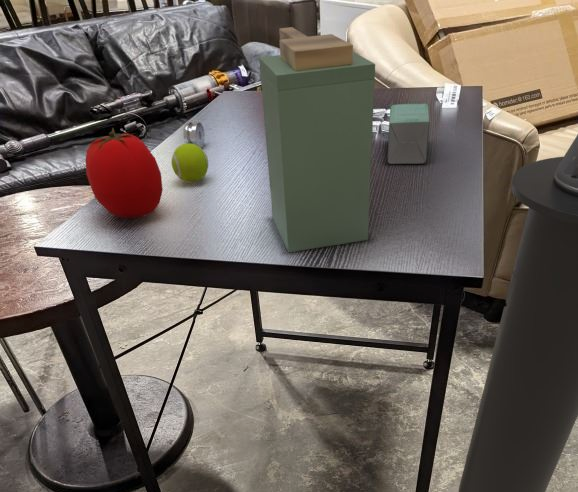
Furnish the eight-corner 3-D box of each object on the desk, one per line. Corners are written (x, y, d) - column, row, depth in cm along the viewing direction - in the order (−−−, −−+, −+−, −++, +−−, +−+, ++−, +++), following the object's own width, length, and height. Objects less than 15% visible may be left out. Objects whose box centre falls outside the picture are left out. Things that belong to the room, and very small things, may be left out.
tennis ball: (171, 179, 101) (163, 143, 96) (204, 172, 103) (198, 136, 98) (181, 190, 96) (174, 152, 92) (216, 182, 98) (210, 145, 94)
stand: (368, 240, 77) (375, 63, 62) (288, 252, 76) (276, 75, 61) (344, 208, 86) (345, 47, 71) (272, 219, 84) (258, 57, 70)
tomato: (152, 232, 84) (130, 145, 75) (85, 227, 87) (57, 143, 78) (182, 202, 92) (166, 121, 83) (120, 199, 95) (98, 120, 86)
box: (424, 141, 108) (428, 101, 104) (426, 164, 99) (430, 121, 94) (388, 141, 110) (390, 102, 105) (387, 165, 100) (389, 122, 95)
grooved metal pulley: (197, 151, 113) (193, 126, 109) (185, 150, 113) (180, 126, 110) (206, 143, 116) (202, 119, 113) (193, 143, 117) (189, 119, 114)
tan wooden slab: (352, 64, 63) (353, 44, 61) (295, 71, 62) (294, 51, 60) (309, 38, 79) (308, 22, 77) (263, 43, 78) (262, 26, 76)
